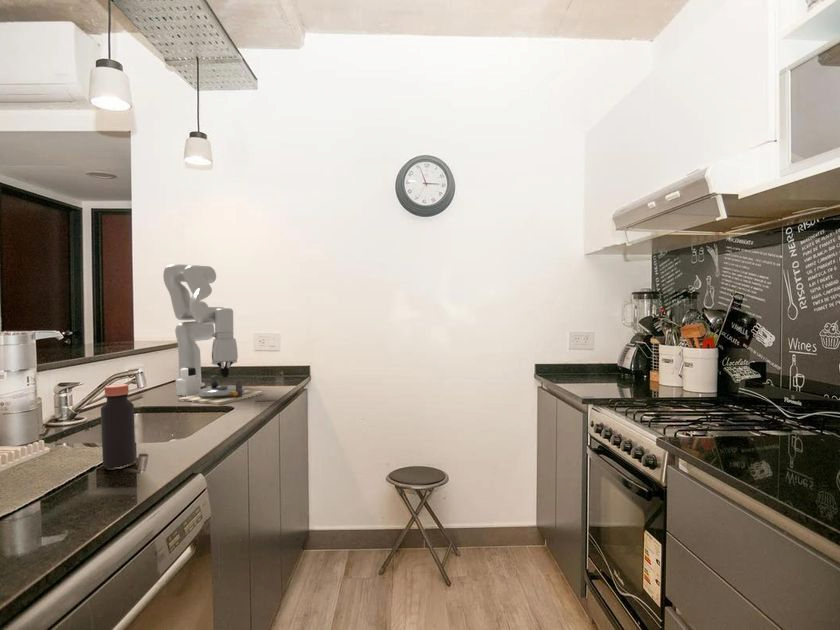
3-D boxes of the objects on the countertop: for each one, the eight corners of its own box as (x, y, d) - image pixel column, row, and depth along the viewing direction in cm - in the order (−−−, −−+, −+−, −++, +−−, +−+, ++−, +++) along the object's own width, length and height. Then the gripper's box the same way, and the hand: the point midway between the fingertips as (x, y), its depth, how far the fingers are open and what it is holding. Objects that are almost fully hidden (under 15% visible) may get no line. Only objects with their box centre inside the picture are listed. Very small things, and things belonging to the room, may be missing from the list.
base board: (177, 400, 195) (177, 381, 195) (223, 390, 217) (223, 373, 217) (220, 405, 185) (219, 384, 185) (263, 393, 207) (263, 375, 207)
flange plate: (204, 399, 186) (203, 383, 186) (195, 391, 203) (194, 377, 203) (250, 393, 197) (250, 378, 196) (238, 387, 213) (238, 372, 213)
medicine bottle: (191, 392, 213) (190, 366, 213) (201, 394, 209) (200, 367, 209) (176, 395, 207) (175, 368, 206) (186, 396, 203) (185, 369, 203)
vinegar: (98, 472, 112) (95, 389, 111) (108, 463, 118) (105, 384, 118) (130, 469, 114) (127, 387, 113) (139, 460, 120) (136, 382, 120)
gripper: (209, 337, 201) (209, 380, 202) (244, 335, 211) (244, 376, 212) (204, 336, 207) (204, 377, 208) (238, 334, 217) (238, 373, 218)
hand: (224, 376), depth 210 cm, fingers closed
